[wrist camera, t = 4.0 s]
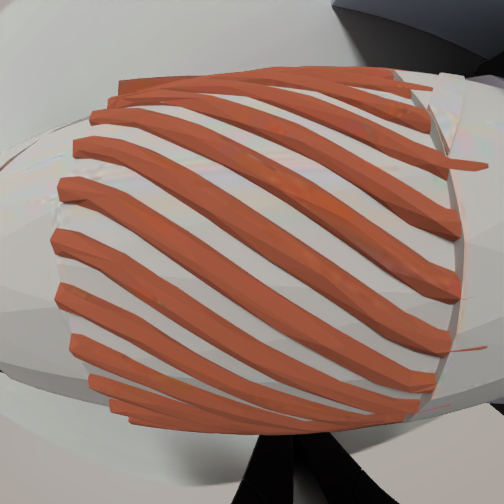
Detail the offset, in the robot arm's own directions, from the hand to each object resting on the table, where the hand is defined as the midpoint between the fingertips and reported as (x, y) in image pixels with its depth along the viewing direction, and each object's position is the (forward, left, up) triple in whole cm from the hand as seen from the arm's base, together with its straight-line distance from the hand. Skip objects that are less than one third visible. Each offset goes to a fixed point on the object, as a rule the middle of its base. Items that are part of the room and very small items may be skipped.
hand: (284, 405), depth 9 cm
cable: (+1, -5, -4) cm, 7 cm away
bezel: (-8, -12, -4) cm, 15 cm away
